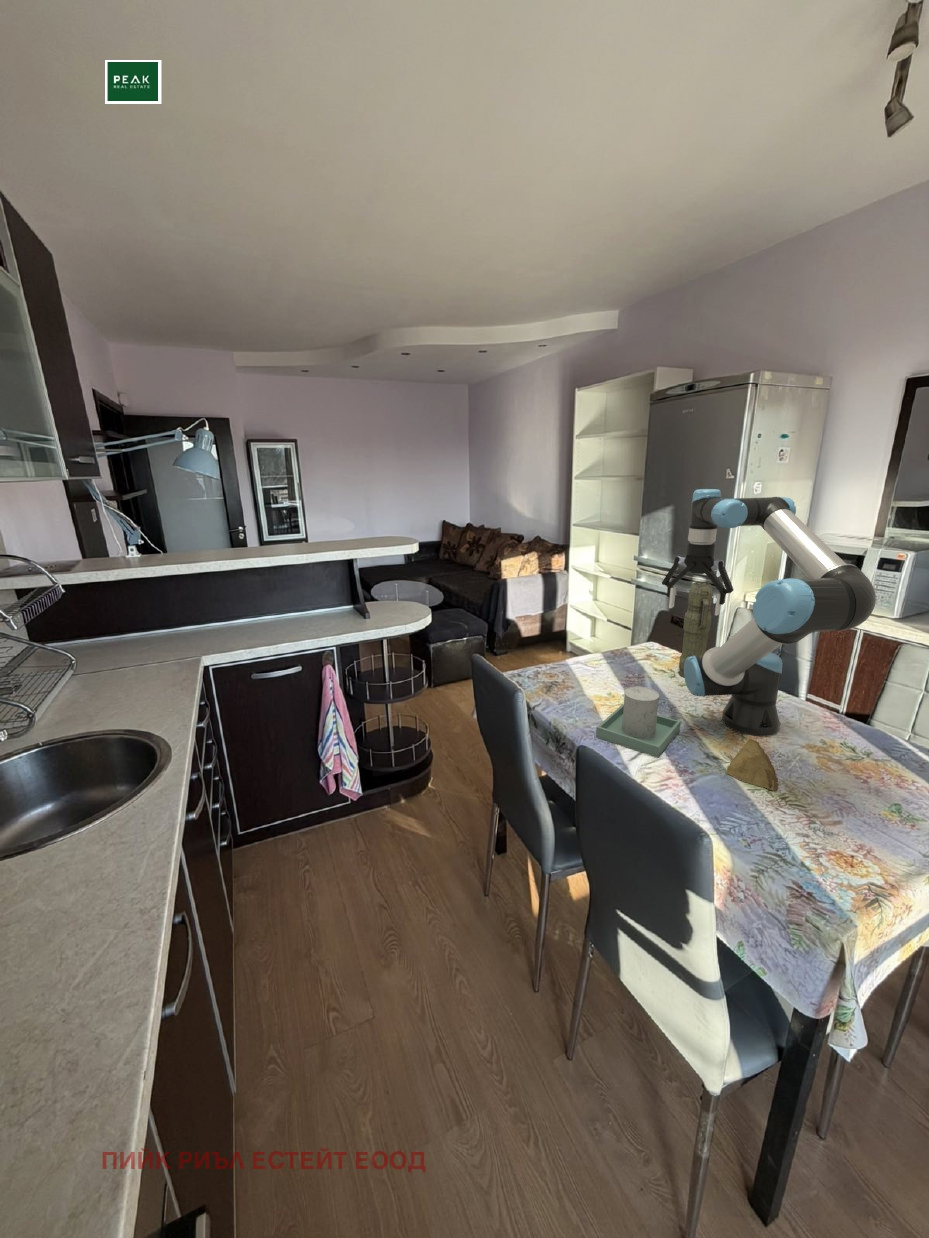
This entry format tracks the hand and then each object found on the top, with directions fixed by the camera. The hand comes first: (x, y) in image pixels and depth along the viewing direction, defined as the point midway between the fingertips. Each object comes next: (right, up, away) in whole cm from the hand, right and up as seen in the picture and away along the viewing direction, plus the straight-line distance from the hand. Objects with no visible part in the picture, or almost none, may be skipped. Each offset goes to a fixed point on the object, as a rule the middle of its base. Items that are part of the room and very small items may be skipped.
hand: (693, 610), depth 158 cm
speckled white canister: (-20, -36, -9) cm, 42 cm away
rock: (0, -43, -31) cm, 53 cm away
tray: (-20, -36, -9) cm, 42 cm away
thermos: (+13, -24, +31) cm, 41 cm away
